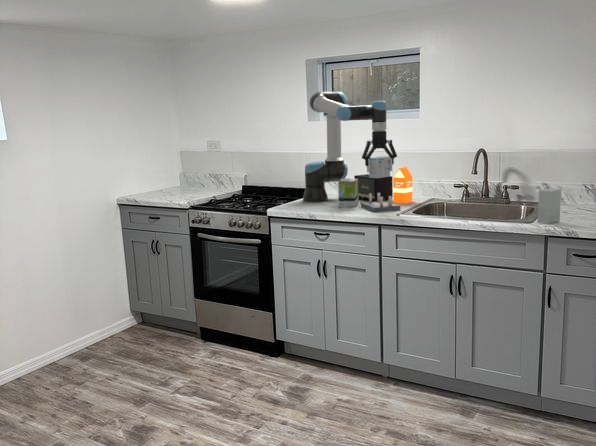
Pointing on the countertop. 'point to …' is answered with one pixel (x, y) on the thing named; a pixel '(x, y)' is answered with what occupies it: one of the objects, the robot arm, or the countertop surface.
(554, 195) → the skincare box
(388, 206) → the pin tray
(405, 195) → the orange juice
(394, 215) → the countertop surface
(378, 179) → the speaker
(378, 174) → the light bulb box
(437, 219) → the countertop surface
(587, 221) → the countertop surface
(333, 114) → the robot arm
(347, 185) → the tea box
